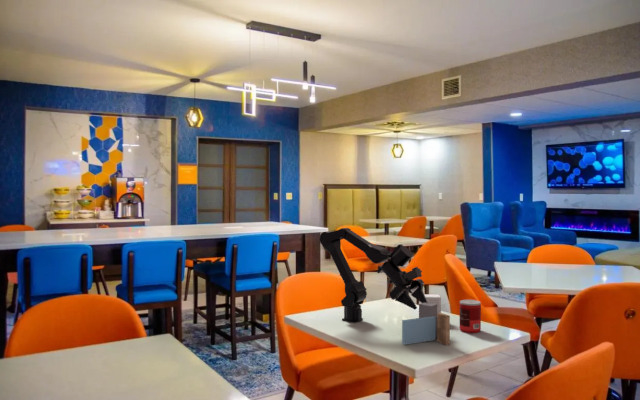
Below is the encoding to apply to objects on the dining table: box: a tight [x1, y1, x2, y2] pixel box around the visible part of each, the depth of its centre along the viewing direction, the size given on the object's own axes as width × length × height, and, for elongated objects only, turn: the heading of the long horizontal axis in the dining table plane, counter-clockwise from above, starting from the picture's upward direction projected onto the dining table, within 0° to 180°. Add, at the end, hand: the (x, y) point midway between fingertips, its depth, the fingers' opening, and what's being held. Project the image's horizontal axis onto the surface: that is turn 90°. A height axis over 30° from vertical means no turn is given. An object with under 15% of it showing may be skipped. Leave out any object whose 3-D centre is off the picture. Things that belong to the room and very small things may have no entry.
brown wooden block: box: [436, 312, 451, 346], centre depth 171 cm, size 5×1×10 cm, turn 25°
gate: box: [401, 316, 437, 345], centre depth 172 cm, size 15×1×8 cm, turn 115°
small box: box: [419, 293, 442, 313], centre depth 201 cm, size 8×6×10 cm
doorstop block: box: [418, 302, 437, 318], centre depth 183 cm, size 5×5×11 cm
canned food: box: [459, 299, 482, 334], centre depth 187 cm, size 8×8×11 cm
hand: (421, 306), depth 184 cm, fingers open, 9 cm apart
